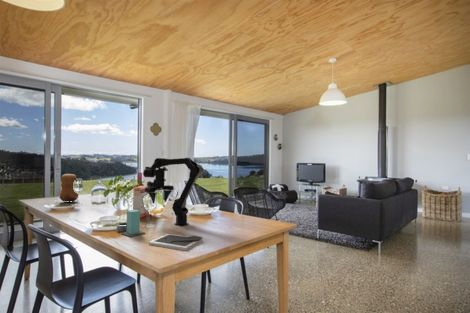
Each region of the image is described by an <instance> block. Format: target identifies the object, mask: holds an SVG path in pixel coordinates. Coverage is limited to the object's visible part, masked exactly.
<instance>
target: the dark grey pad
mask: <svg viewBox="0 0 470 313" xmlns="http://www.w3.org/2000/svg"><path fill="white" fill-rule="evenodd" d="M120 235H122V236H125V237H127V238H133V237H137V236H142V235H146V232H145V231H141V230H140V233H137V234H132V235H130V234H128V233H127V231H124V232H120Z"/></svg>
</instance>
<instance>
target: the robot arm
mask: <svg viewBox="0 0 470 313" xmlns="http://www.w3.org/2000/svg"><path fill="white" fill-rule="evenodd" d="M170 165H171V166H172V165H173V166H174V165H185V166H186V167H187V169H188V170H190V171H189V175H188V180H187V182H186V183H185V185H184V188H183V190H182V192H181V193H180V196H179V198H176V199H174V201H173V204H172V208H171V209H172V211H173V212H174V215H175V222H174V225H175V226H178V227H179V226H180V227H183V226H186V225H189V222H188V213H189V209H188V208H187V207H186V205H187V201H188V200H187V199H188V198H189V195H190V193H191V191H192V190H193V188H194V185H195V184H196V181H197V180H198V179H199V178H200V176H201V175H202V174H203V172H204V168H203V167H202V166H201V165H199V164H198V162H197V163H196V161H194V160H193V159H191V158H190V157H185V158H184V157H183V158H182V157H181V158H165V157H164V158H163V157H157V158H155V159H154V160H153V163H152V165H151V166H145V168H144V170H143V173H142V174H143V177H144V178H154V179H153V182H152V181H151V180H149V181H147V182H146V186H148V187H146V188H145V192H147V193H148V194H149V195H150V200H151V202H152V204H155V201H156V197H157V196H156V194H157V192H156V191H163V196H164V198H163V200H164V201H163V202H167V200H168V198H169V196H170V195H171V193H172V192H173V191H174V190H175V187H174V186H173V185H169V184H166V185H165V183H166V180H167V179H166V178H165V174H166V173H165V172H167V171H169V169H168V168H166V167H169V166H170Z"/></svg>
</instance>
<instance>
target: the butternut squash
mask: <svg viewBox="0 0 470 313" xmlns="http://www.w3.org/2000/svg"><path fill="white" fill-rule="evenodd" d="M76 179H77V176H76V174H73V173H65V174H63V175H62V176H61V180H60V181H61V183H60V187H61V189H60V193H59V199H60V200H61V202H64V201H74V202H75V201H77V200H78V199H79V193H78V194H77V193H75V192H74V190H73V182H74V180H76Z"/></svg>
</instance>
